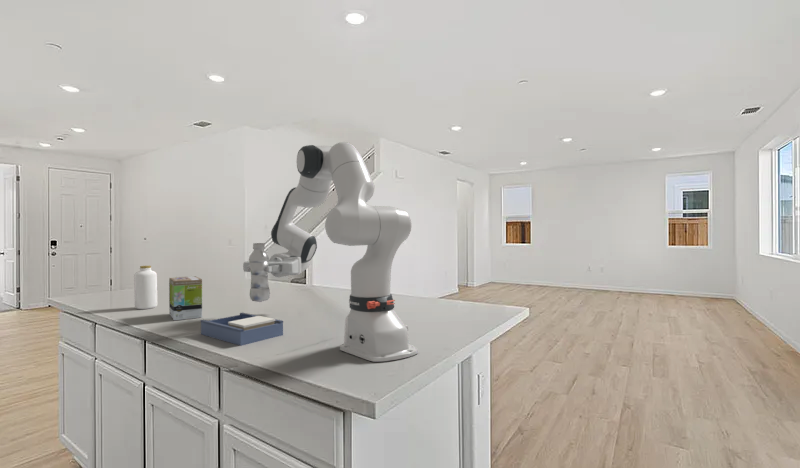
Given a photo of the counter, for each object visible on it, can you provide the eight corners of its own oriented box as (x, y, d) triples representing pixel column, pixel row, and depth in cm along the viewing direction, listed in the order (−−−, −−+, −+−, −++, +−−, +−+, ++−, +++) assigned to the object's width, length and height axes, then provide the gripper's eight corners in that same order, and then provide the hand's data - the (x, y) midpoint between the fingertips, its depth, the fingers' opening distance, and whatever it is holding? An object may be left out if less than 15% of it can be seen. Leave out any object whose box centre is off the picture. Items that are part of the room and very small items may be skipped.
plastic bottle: (269, 302, 140) (268, 243, 140) (248, 303, 139) (247, 244, 138) (271, 299, 147) (270, 242, 146) (250, 300, 145) (249, 243, 145)
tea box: (203, 317, 157) (202, 278, 156) (173, 321, 151) (172, 280, 151) (197, 311, 169) (196, 275, 169) (168, 314, 163) (168, 277, 163)
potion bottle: (152, 305, 184) (151, 264, 184) (161, 307, 179) (160, 265, 179) (131, 308, 177) (130, 266, 177) (140, 310, 172) (139, 267, 172)
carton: (275, 335, 125) (275, 319, 125) (244, 343, 117) (243, 325, 117) (259, 331, 130) (259, 315, 130) (228, 338, 122) (227, 321, 122)
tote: (283, 337, 126) (283, 320, 126) (240, 348, 115) (240, 330, 115) (242, 327, 139) (242, 312, 139) (200, 336, 128) (200, 320, 128)
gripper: (256, 256, 158) (232, 259, 145) (304, 257, 152) (283, 260, 138) (257, 272, 158) (232, 277, 145) (304, 274, 152) (283, 279, 139)
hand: (257, 269), depth 141 cm, fingers closed on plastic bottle, 6 cm apart
